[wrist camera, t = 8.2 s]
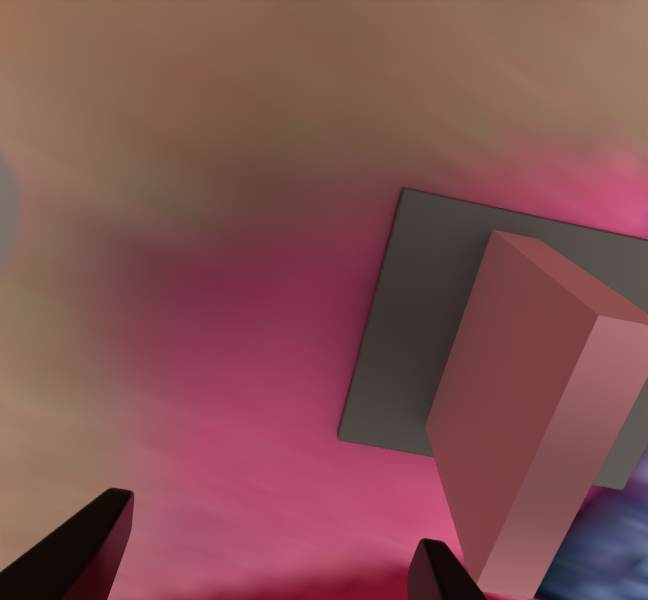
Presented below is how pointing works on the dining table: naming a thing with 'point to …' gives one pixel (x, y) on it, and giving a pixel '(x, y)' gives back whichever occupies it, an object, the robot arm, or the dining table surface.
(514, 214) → the mat
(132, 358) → the dining table surface
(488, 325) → the pink rectangular block
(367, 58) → the dining table surface
